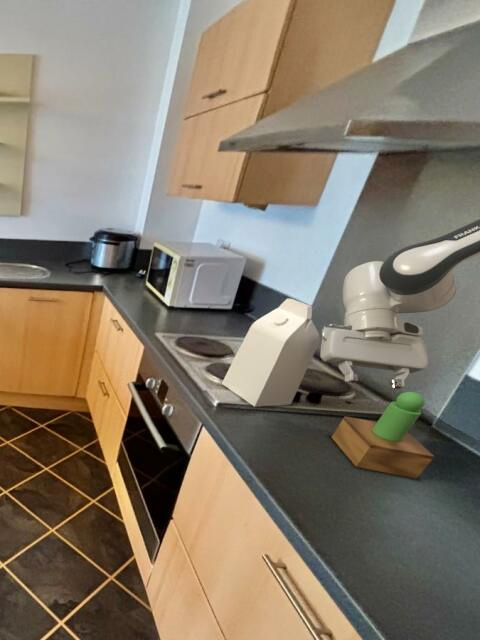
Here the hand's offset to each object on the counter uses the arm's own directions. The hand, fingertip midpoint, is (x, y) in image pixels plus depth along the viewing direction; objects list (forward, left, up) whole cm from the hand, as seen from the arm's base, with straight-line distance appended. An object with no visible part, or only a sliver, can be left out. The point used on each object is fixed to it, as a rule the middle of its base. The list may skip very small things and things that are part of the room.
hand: (374, 384), depth 93 cm
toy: (-1, +10, -7) cm, 12 cm away
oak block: (-1, +10, -13) cm, 16 cm away
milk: (+16, -12, -13) cm, 24 cm away
